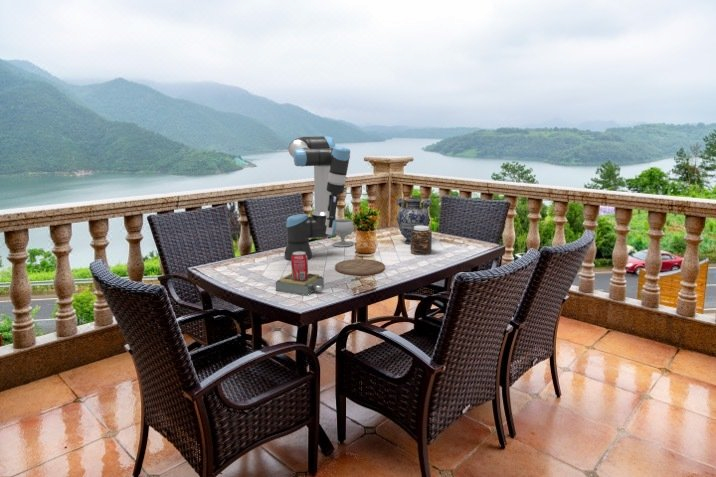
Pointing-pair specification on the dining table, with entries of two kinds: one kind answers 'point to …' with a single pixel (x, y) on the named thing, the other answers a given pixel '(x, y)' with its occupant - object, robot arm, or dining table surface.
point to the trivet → (359, 267)
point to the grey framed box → (300, 284)
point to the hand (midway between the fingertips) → (328, 229)
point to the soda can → (299, 266)
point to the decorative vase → (412, 215)
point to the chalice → (343, 231)
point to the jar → (421, 240)
